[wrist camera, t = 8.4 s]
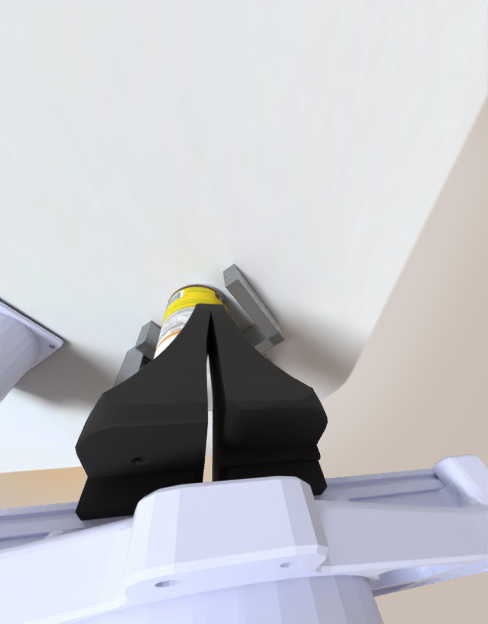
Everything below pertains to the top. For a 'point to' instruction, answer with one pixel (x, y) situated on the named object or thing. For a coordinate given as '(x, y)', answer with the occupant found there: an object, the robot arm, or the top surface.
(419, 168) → the top surface
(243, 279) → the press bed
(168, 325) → the supplement bottle
